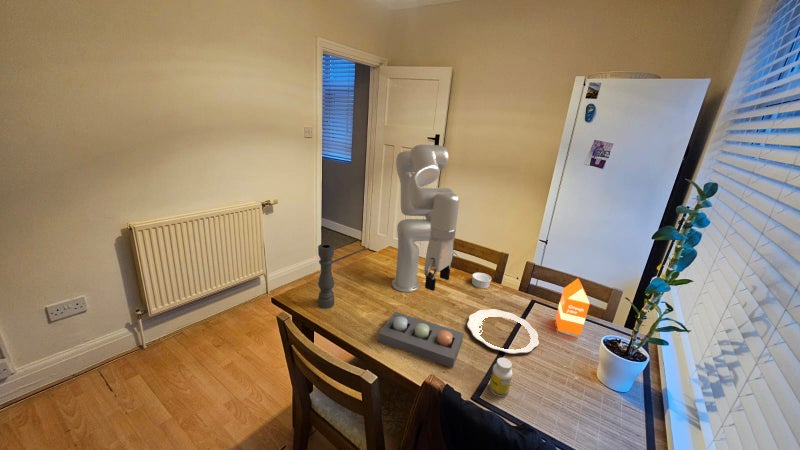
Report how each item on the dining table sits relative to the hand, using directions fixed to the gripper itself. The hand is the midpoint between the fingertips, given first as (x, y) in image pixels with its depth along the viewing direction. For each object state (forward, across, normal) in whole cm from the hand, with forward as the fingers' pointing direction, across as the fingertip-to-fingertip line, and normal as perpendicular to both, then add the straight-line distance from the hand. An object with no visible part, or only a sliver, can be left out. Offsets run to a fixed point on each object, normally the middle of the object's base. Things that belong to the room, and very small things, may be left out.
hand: (437, 283), depth 101 cm
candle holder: (+22, +7, -44) cm, 50 cm away
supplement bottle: (+24, +4, +25) cm, 35 cm away
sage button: (+20, +1, -3) cm, 20 cm away
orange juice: (+23, -42, +37) cm, 60 cm away
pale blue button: (+20, +3, -11) cm, 23 cm away
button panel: (+23, +1, -3) cm, 23 cm away
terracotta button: (+20, 0, +5) cm, 21 cm away
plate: (+23, -23, +17) cm, 37 cm away
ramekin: (+22, -52, -2) cm, 57 cm away
